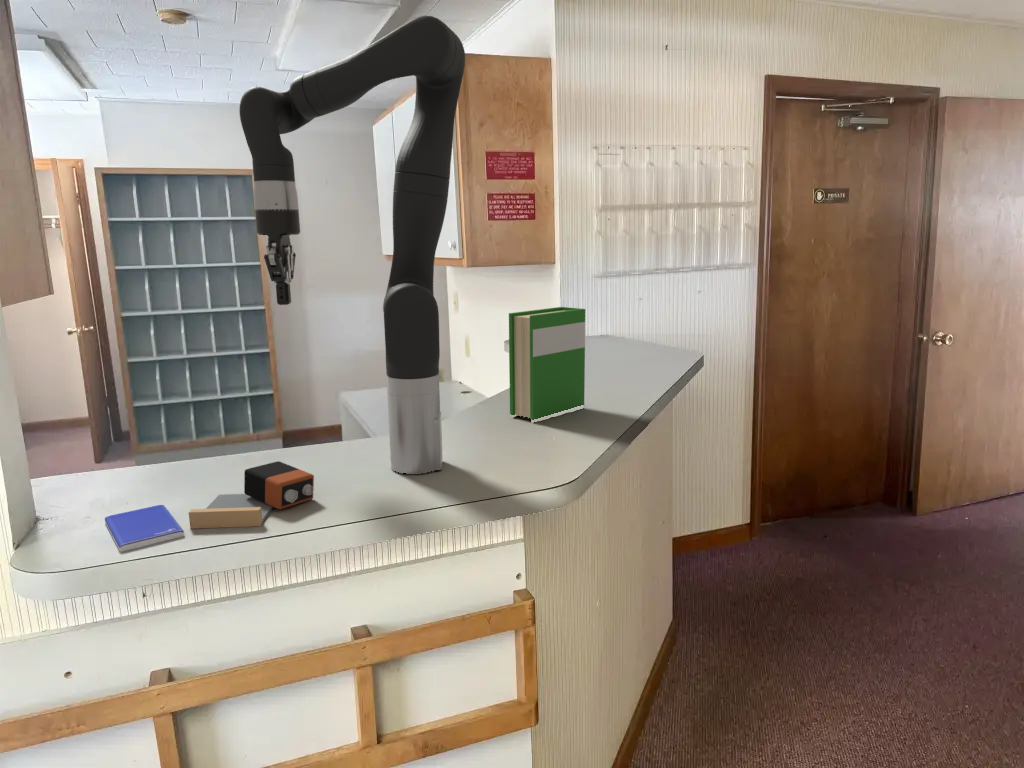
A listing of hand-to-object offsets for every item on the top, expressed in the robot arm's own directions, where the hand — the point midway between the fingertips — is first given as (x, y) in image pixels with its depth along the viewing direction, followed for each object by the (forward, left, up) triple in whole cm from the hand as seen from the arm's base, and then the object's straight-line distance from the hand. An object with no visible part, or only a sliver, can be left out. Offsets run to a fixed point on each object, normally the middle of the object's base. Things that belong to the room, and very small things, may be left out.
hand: (284, 304), depth 130 cm
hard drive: (+14, +34, -30) cm, 47 cm away
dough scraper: (+2, +28, -29) cm, 40 cm away
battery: (0, +22, -26) cm, 34 cm away
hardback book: (-52, -26, -29) cm, 65 cm away
